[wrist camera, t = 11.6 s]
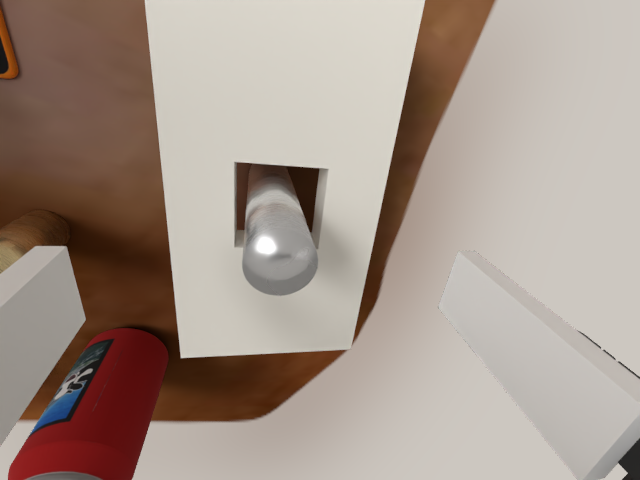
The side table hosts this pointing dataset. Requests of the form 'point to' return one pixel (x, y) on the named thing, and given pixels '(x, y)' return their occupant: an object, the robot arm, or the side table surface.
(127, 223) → the side table surface
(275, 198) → the tall steel pin
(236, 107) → the white bench
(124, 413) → the beverage can
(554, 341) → the robot arm
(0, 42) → the smartphone
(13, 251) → the short brass pin
